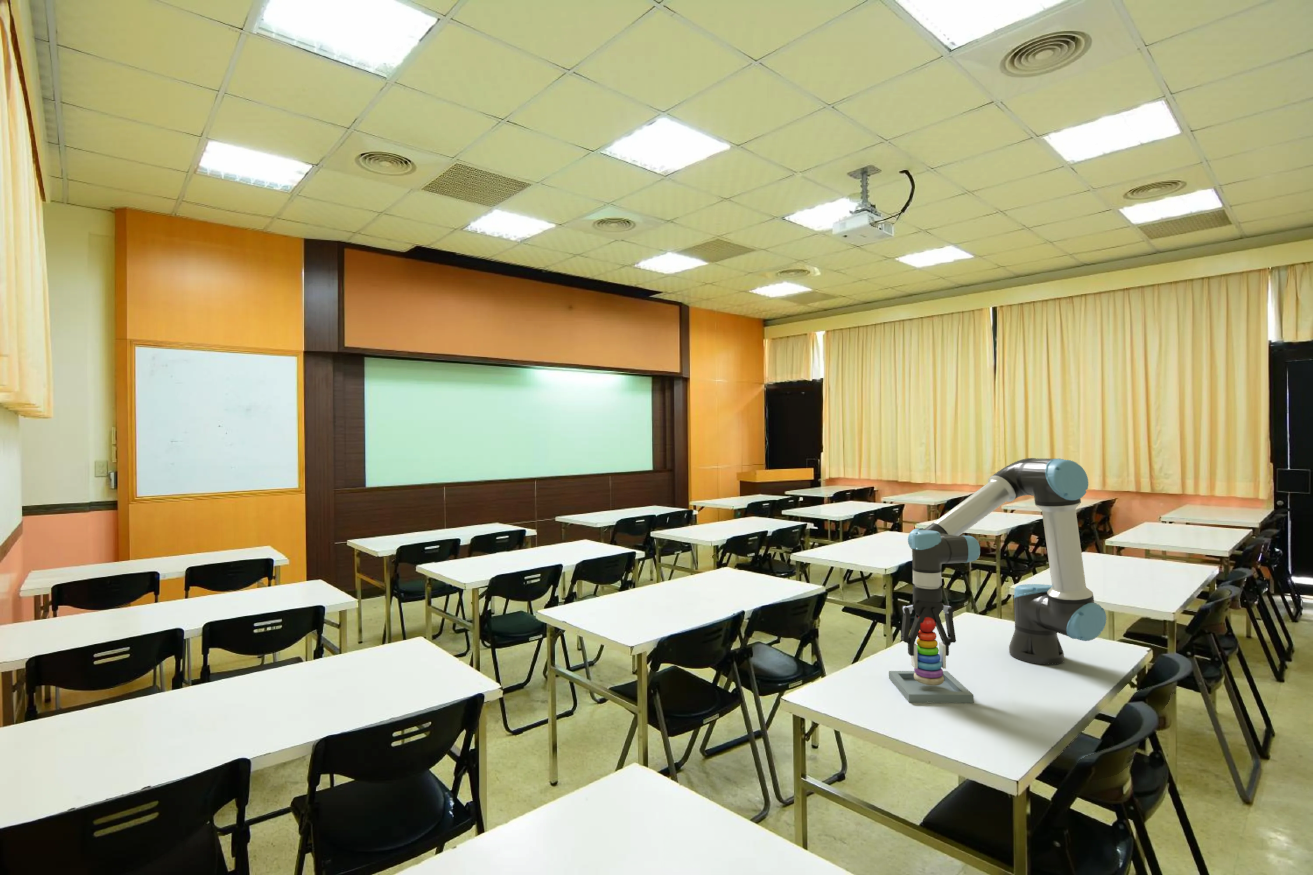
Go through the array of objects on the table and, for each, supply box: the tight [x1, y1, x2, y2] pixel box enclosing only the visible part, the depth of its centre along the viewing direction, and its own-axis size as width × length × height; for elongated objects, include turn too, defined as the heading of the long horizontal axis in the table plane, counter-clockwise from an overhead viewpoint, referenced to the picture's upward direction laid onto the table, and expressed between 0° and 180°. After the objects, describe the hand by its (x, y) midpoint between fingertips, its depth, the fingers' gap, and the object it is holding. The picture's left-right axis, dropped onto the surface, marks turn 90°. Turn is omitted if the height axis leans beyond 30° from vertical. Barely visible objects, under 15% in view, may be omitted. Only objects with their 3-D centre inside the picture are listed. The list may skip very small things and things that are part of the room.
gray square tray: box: [888, 670, 975, 704], centre depth 175 cm, size 17×17×2 cm
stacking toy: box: [913, 617, 944, 686], centre depth 175 cm, size 8×8×19 cm
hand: (928, 666), depth 175 cm, fingers closed on stacking toy, 7 cm apart
